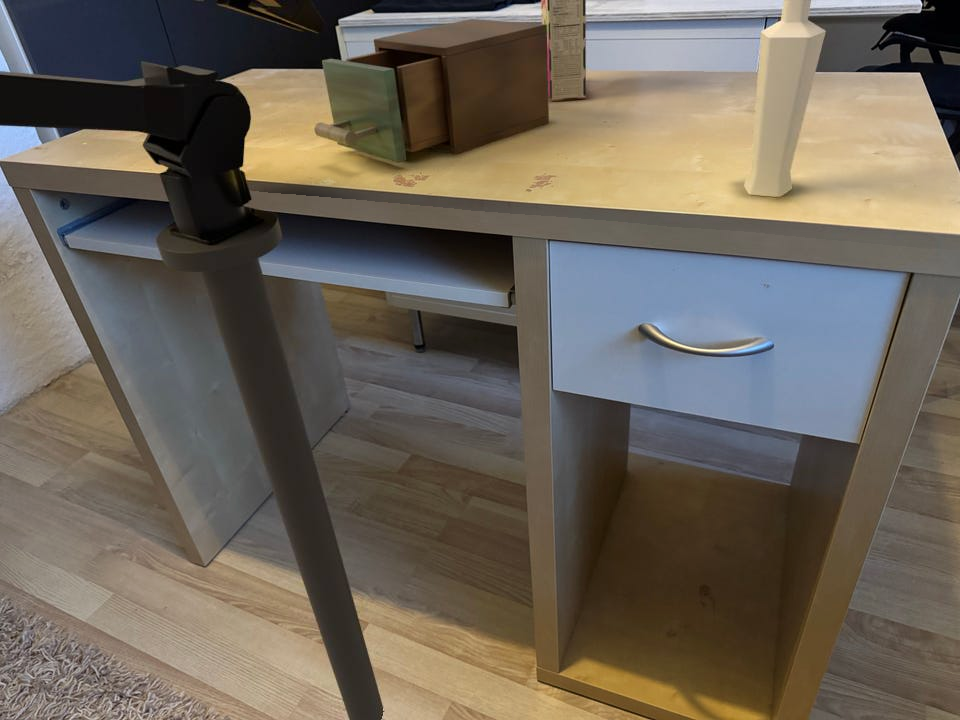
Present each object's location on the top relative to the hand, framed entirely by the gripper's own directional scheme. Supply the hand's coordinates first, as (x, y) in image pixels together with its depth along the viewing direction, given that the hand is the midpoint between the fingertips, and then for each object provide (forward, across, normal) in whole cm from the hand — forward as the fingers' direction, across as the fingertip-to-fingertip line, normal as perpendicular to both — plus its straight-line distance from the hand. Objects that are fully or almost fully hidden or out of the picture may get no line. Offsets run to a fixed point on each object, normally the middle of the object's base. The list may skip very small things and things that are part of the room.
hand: (314, 27), depth 65 cm
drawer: (+15, 0, +3) cm, 15 cm away
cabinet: (+22, 0, -3) cm, 22 cm away
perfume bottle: (+24, -37, -4) cm, 44 cm away
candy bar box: (+36, +2, -17) cm, 40 cm away
